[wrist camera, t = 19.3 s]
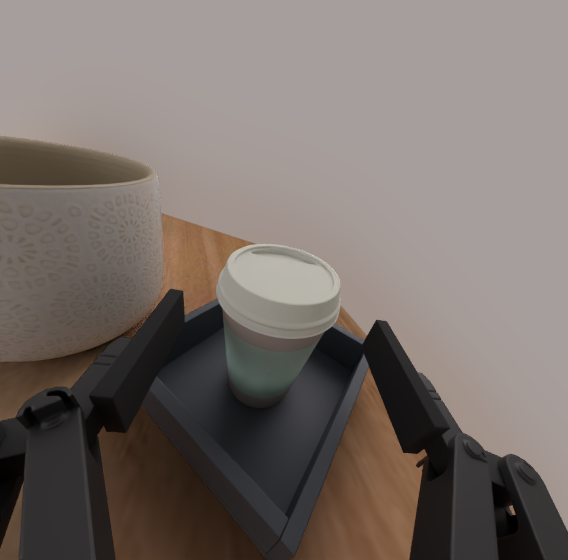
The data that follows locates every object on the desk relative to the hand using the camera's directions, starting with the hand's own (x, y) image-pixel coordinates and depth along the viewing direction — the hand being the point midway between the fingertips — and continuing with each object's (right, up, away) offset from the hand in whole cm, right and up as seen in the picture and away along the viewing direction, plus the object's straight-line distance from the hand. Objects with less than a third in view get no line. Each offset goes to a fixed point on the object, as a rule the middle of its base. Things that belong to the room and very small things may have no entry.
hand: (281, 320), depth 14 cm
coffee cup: (-2, -7, +6) cm, 9 cm away
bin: (-2, -7, +6) cm, 10 cm away
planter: (-22, -1, +8) cm, 23 cm away
